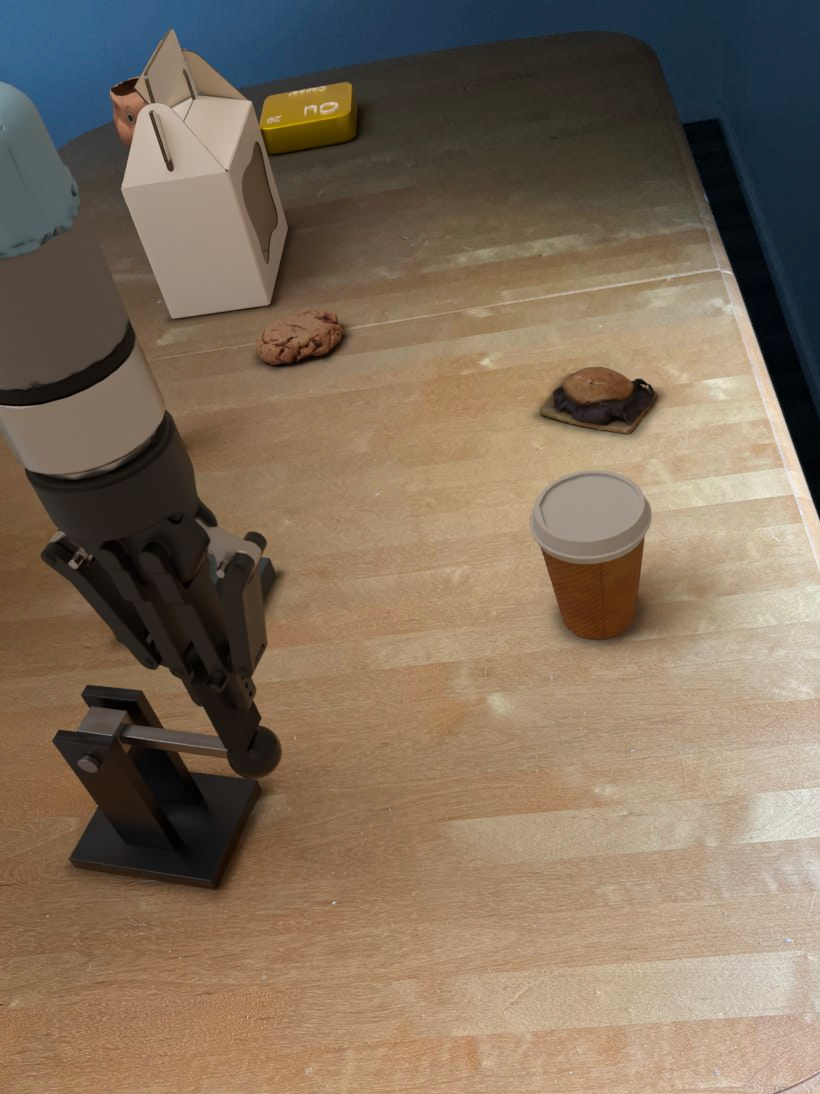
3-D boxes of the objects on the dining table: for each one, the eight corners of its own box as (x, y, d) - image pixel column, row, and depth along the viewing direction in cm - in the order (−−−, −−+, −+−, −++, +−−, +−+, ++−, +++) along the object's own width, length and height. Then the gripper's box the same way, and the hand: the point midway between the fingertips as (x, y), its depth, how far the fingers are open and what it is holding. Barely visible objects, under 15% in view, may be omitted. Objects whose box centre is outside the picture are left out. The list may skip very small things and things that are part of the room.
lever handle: (295, 749, 72) (282, 717, 69) (276, 793, 70) (262, 761, 67) (111, 724, 75) (92, 692, 73) (87, 765, 73) (67, 733, 70)
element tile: (358, 106, 179) (351, 76, 176) (356, 141, 169) (349, 110, 166) (271, 122, 180) (263, 92, 177) (265, 157, 170) (256, 126, 167)
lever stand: (262, 788, 83) (203, 672, 73) (216, 890, 77) (146, 779, 67) (127, 771, 86) (54, 658, 76) (74, 867, 80) (-13, 759, 70)
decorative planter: (136, 156, 178) (104, 68, 168) (207, 140, 179) (179, 51, 169) (134, 204, 164) (98, 111, 154) (211, 186, 165) (180, 93, 155)
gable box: (199, 241, 152) (124, 28, 132) (288, 227, 151) (226, 10, 131) (171, 321, 137) (81, 94, 117) (270, 307, 136) (197, 75, 115)
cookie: (243, 354, 128) (236, 332, 126) (310, 314, 133) (303, 292, 131) (293, 379, 123) (286, 357, 121) (360, 337, 127) (355, 314, 125)
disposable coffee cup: (563, 567, 95) (550, 460, 86) (667, 583, 91) (665, 474, 83) (527, 643, 89) (510, 536, 80) (637, 663, 86) (631, 554, 77)
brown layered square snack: (535, 419, 111) (531, 389, 108) (571, 375, 115) (568, 345, 113) (628, 439, 106) (626, 408, 104) (662, 392, 111) (661, 362, 108)
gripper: (245, 392, 52) (355, 698, 69) (21, 389, 56) (178, 680, 73) (181, 489, 47) (316, 792, 64) (-59, 479, 51) (129, 769, 68)
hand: (243, 732), depth 69 cm, fingers closed
